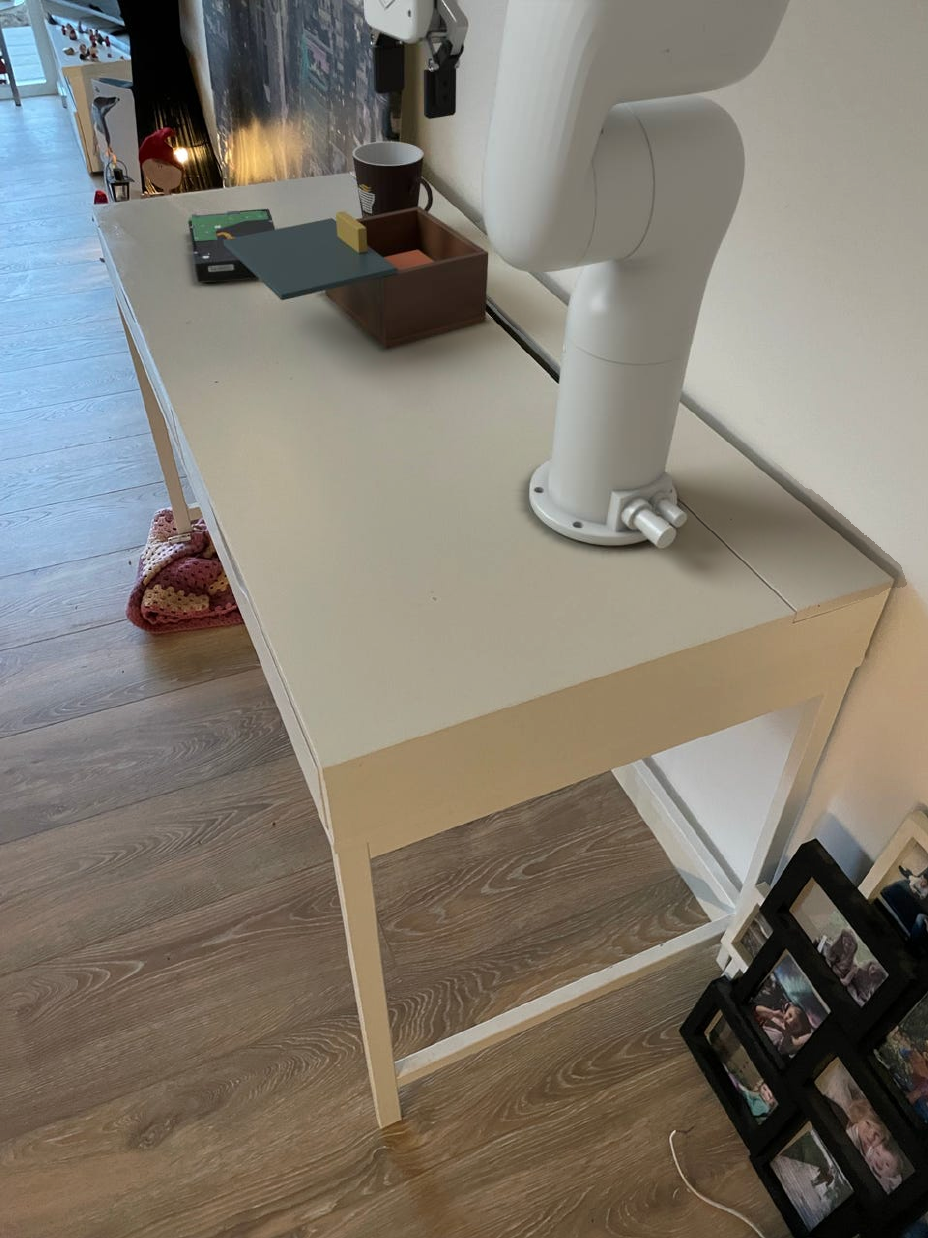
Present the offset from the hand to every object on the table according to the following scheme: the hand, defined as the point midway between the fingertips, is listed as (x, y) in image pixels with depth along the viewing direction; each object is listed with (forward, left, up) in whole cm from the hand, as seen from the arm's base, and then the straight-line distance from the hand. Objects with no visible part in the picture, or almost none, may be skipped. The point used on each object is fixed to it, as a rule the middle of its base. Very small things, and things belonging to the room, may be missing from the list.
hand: (414, 103), depth 92 cm
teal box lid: (+1, +12, -13) cm, 18 cm away
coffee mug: (+18, -7, -21) cm, 29 cm away
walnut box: (+1, +1, -21) cm, 21 cm away
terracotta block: (+1, 0, -20) cm, 20 cm away
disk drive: (+23, +12, -21) cm, 33 cm away
